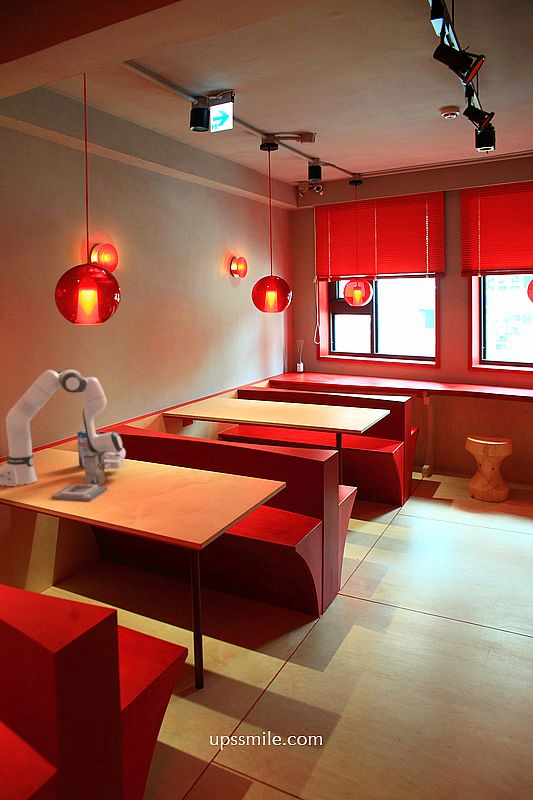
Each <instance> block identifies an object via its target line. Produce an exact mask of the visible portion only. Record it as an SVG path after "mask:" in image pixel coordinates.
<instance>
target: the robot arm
mask: <svg viewBox="0 0 533 800" xmlns="http://www.w3.org/2000/svg"><path fill="white" fill-rule="evenodd" d="M59 389H63V390H64V391H65V392H67V393H73V394H74V393H75V394H77V393H80V394H81V396H82V398H83V401H84V405H85V407H84V409H83V410H82V419H83V424H84V430H85V431H86V436H87V447H88V449H89V450H90V451H91V452H100V453H103V456H104V465H103V469H104V470H110V469H114V470H116V469H117V470H119V469H120V468H122V467H123V466H124V459H125V458H126V453H127V452H126V449H125V448H124V443H123V438H122V437H121V435H120V434H119V433H118V432H116V431H110V432H105V433H99V435H98V434H96V432H95V431H96V427H95V422H94V420H95V417H96V416H98V415H100V414H101V413H102V412H103V411H104V410H105V409H106V407H107V405H108V401H107V398H106V397H107V396H106V394H105V392H104V389H103V387H102V385H101V383H100V381H99V380H98V378H97V377H94V376H87V377H83V376H82V374H81V373H80V372H79V371H78V370H77V369H75V368H65V369H63V370H60V371H55V370H53V369H47V370H46V371H44V372H43V373H42V374H40V375H39V377H37V378H36V379H35V380H34V382H33V383H32V384H31V385H30V387H28V389H27V390H26V391H25V392H24V394H23V395H22V396H21V397H20V398H19V399H18V401H16V403H15V404H14V405H13V406H12V407H11V409H10V410H9V411H8V413H7V415H6V417H5V427H6V436H7V440H8V441H7V443H8V444H7V445H8V456H7V457H5V458H4V461H6V463H5V464H3V465H2V466H1V467H0V486H4V485H6V487H11V486H14V487H18V485H19V486H25V485H24V484H26V485H30V484H32V483H33V482H34V483H35V482H37V481H38V478H37V475H36V472H35V468H34V463H35V462H34V454H33V446H32V445H33V444H32V437H31V426H30V425H31V424H30V422H31V420H32V419H33V418H34V417H35V416H36V414H38V412H39V411H40V410H41V409H42V408H43V407H44V406H45V404H46V403H48V401H49V400H50V399H51V397H52V396H53V395H54V393H55V392H56V391H58V390H59ZM83 466H84V467H83V468H85V463H84V460H83Z"/></svg>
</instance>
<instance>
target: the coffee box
mask: <svg viewBox="0 0 533 800" xmlns="http://www.w3.org/2000/svg"><path fill="white" fill-rule="evenodd" d="M103 453H104V452H92V453H90V454H88V455H86V456H84V463H85V467H84V476H85V484H90V485H98V486H101V485H103V484H105V483H106V476H105V474H106V473H105V469H103V465H104V456H103ZM104 482H105V483H104Z"/></svg>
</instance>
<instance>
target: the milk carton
mask: <svg viewBox="0 0 533 800" xmlns="http://www.w3.org/2000/svg"><path fill="white" fill-rule="evenodd" d="M95 432H96V434H98V435H99V434H100V431H98V430H95ZM77 448H78V450H77V451H78V466H81V467H80V468H85V467H84V466H83V460H84V456H86V455H88V454H90V453H92V452H91V451H90V450H89V449H88V447H87V436H86V431H85V429H82V430H80V431H77Z"/></svg>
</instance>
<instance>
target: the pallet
mask: <svg viewBox="0 0 533 800" xmlns="http://www.w3.org/2000/svg"><path fill="white" fill-rule="evenodd" d="M107 489H108V486H101V485H100V486H98V485H90V484H86V483H75V484H69V485H68V486H66V487H64V488H63V489H61V490H59V491H57V492H56V493H54V494H53V495H51V499H52V500H63V499H66V501H83V502H92V501H94V500H95V499H96V498H97V497H99V496H101V495H102V494H103V493H105V492H106V491H108V490H107Z"/></svg>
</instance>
